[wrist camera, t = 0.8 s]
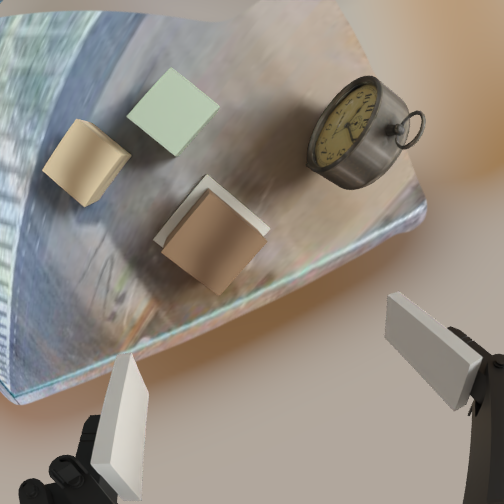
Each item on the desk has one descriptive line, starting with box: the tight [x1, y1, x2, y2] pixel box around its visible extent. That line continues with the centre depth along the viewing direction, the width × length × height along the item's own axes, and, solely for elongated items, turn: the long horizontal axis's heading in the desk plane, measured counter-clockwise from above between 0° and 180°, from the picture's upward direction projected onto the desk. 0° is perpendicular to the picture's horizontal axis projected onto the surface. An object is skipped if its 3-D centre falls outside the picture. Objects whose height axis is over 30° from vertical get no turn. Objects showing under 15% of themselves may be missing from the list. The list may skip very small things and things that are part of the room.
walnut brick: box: [161, 188, 267, 296], centre depth 32 cm, size 7×7×5 cm
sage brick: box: [127, 68, 220, 156], centre depth 28 cm, size 6×6×5 cm
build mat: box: [153, 174, 271, 248], centre depth 35 cm, size 9×9×1 cm
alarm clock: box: [306, 76, 426, 190], centre depth 26 cm, size 11×5×16 cm, turn 153°
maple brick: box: [42, 119, 132, 207], centre depth 28 cm, size 6×6×5 cm
